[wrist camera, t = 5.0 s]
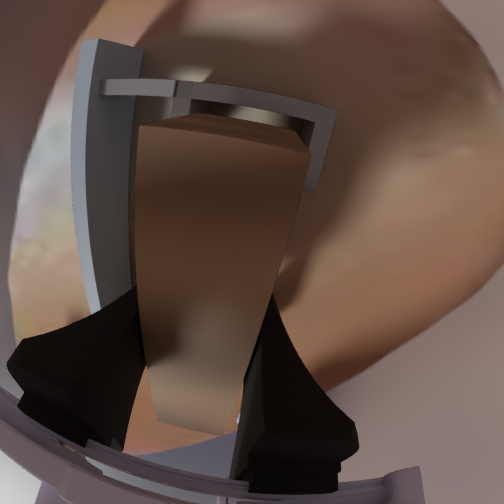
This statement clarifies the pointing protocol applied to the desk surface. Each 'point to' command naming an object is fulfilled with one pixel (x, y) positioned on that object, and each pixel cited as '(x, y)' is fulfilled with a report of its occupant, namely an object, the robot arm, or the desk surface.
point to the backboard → (105, 162)
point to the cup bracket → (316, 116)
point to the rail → (209, 254)
